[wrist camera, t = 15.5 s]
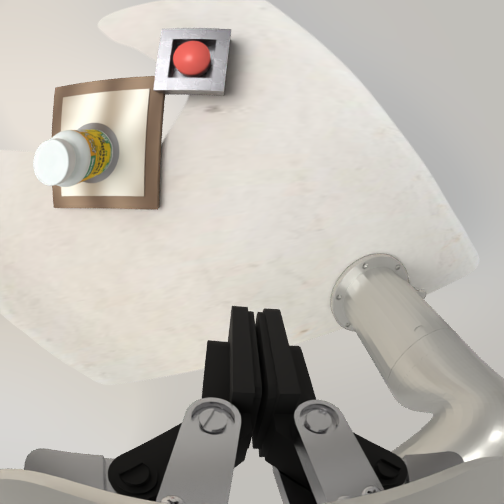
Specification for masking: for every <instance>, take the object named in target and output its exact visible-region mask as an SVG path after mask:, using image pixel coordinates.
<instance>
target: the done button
mask: <svg viewBox="0 0 504 504" xmlns="http://www.w3.org/2000/svg"><path fill="white" fill-rule="evenodd" d="M173 62H174V65H175V66H176V68H177V69H178V71H179V72H180V73H181V74H182V75H184V76H186V77H189V78H195V77H199V76H201V75H203V74H205V73H206V72H207V71H208V69H209V68H210V65H211V57H210V52H209V49H208V48H207V46H206V45H205V44H203V43H201V42H199V41H188V42H185V43H183V44H181V45H180V46H179V47H178V48H177V49H176V50H175V52H174V55H173Z"/></svg>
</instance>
